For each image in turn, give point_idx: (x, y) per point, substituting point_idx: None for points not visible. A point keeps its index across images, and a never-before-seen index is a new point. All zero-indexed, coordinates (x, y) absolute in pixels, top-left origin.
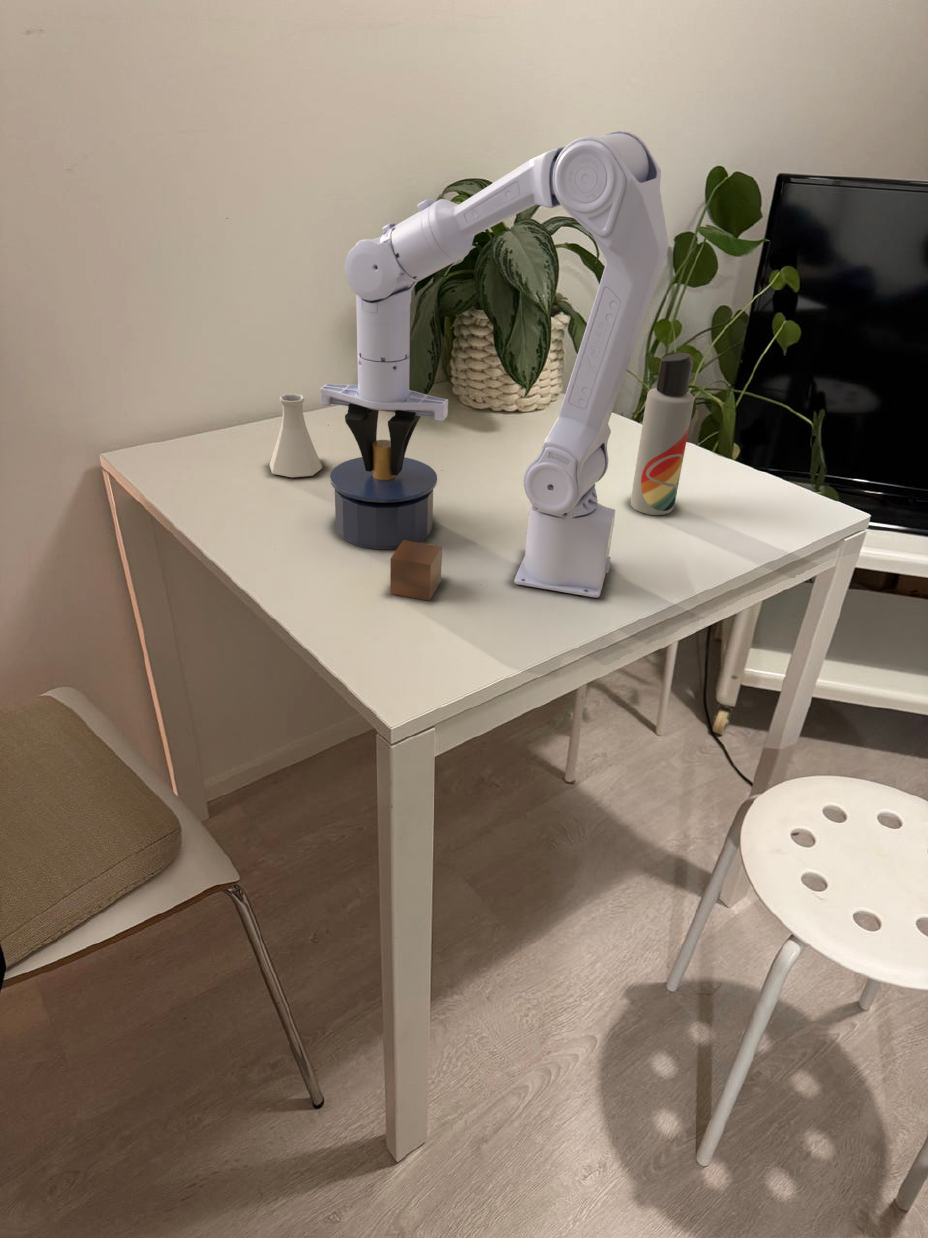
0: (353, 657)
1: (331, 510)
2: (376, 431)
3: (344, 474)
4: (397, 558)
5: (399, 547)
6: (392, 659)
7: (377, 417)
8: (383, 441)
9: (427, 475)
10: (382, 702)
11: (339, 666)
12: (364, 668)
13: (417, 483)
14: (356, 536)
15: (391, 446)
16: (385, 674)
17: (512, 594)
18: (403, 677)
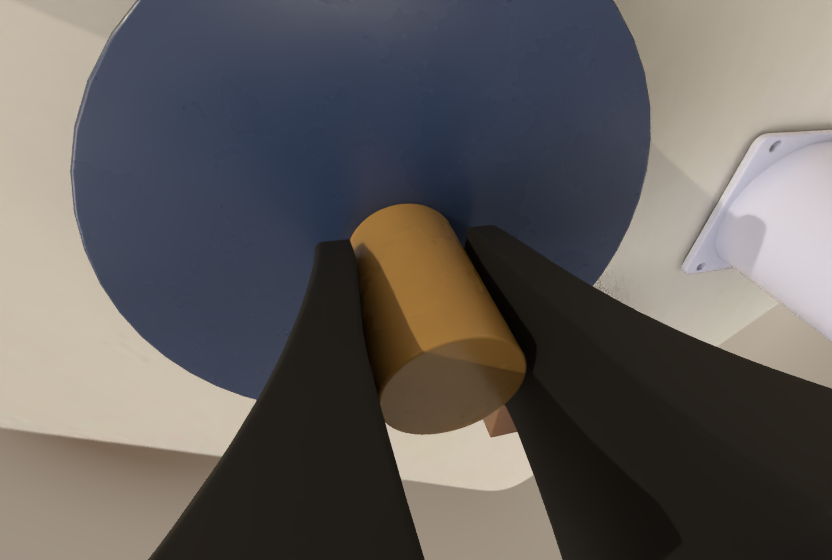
0: (449, 466)
1: (84, 79)
2: (372, 379)
3: (213, 316)
4: (503, 433)
5: (501, 409)
6: (493, 451)
7: (401, 493)
8: (443, 370)
9: (605, 164)
10: (494, 485)
11: (438, 479)
12: (466, 470)
13: (558, 254)
14: None
15: (529, 455)
16: (490, 466)
17: (665, 292)
18: (509, 461)
